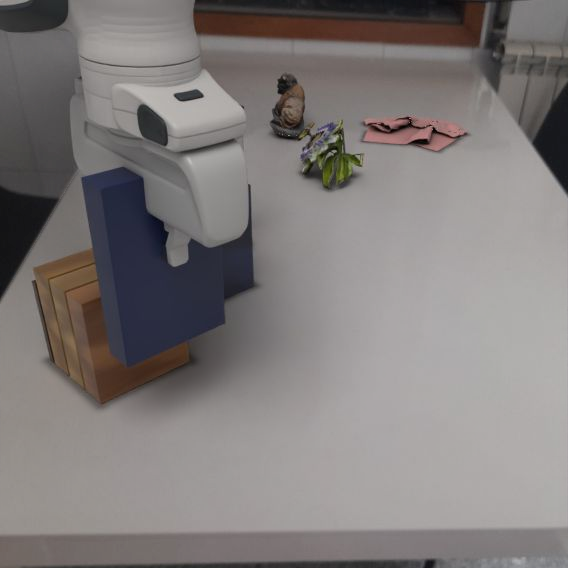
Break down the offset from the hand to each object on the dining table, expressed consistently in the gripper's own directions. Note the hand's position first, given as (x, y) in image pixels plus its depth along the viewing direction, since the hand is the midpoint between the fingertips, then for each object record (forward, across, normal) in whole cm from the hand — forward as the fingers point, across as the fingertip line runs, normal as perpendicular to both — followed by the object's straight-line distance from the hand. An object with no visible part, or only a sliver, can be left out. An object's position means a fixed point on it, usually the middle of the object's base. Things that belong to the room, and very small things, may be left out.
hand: (160, 252), depth 63 cm
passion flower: (+18, -34, +56) cm, 68 cm away
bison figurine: (+18, -56, +66) cm, 89 cm away
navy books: (+18, -17, +16) cm, 30 cm away
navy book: (+9, 0, 0) cm, 9 cm away
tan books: (+18, -11, 0) cm, 21 cm away
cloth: (+18, -40, +85) cm, 96 cm away
